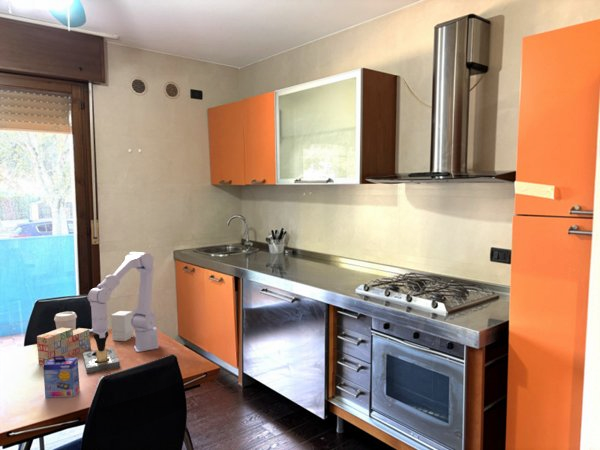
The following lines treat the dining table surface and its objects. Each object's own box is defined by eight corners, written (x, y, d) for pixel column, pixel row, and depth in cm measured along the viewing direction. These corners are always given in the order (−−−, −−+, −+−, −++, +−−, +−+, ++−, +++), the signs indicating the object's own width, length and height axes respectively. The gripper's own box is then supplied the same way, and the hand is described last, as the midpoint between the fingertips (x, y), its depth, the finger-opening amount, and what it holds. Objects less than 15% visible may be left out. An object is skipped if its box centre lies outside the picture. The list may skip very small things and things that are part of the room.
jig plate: (113, 352, 195) (112, 347, 194) (119, 367, 178) (119, 361, 178) (83, 358, 188) (82, 352, 188) (87, 374, 172) (86, 367, 172)
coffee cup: (82, 344, 207) (81, 312, 206) (62, 350, 199) (60, 317, 198) (71, 340, 212) (69, 310, 211) (51, 346, 204) (49, 315, 203)
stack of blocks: (80, 347, 203) (79, 321, 202) (91, 349, 200) (89, 322, 199) (38, 364, 183) (36, 335, 182) (49, 366, 181) (47, 337, 180)
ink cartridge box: (44, 398, 152) (41, 358, 151) (51, 391, 157) (49, 352, 156) (73, 397, 153) (71, 356, 152) (80, 390, 158) (78, 350, 157)
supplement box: (134, 336, 217) (133, 311, 216) (125, 341, 210) (124, 315, 209) (121, 335, 218) (120, 310, 217) (111, 340, 211) (110, 314, 210)
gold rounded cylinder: (107, 364, 182) (106, 347, 181) (108, 367, 178) (107, 350, 178) (96, 366, 180) (95, 349, 180) (97, 369, 177) (96, 352, 176)
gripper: (87, 314, 182) (88, 347, 183) (90, 323, 169) (92, 358, 170) (105, 312, 185) (107, 343, 186) (110, 320, 173) (111, 354, 174)
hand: (101, 350), depth 179 cm, fingers closed, pressing on gold rounded cylinder
